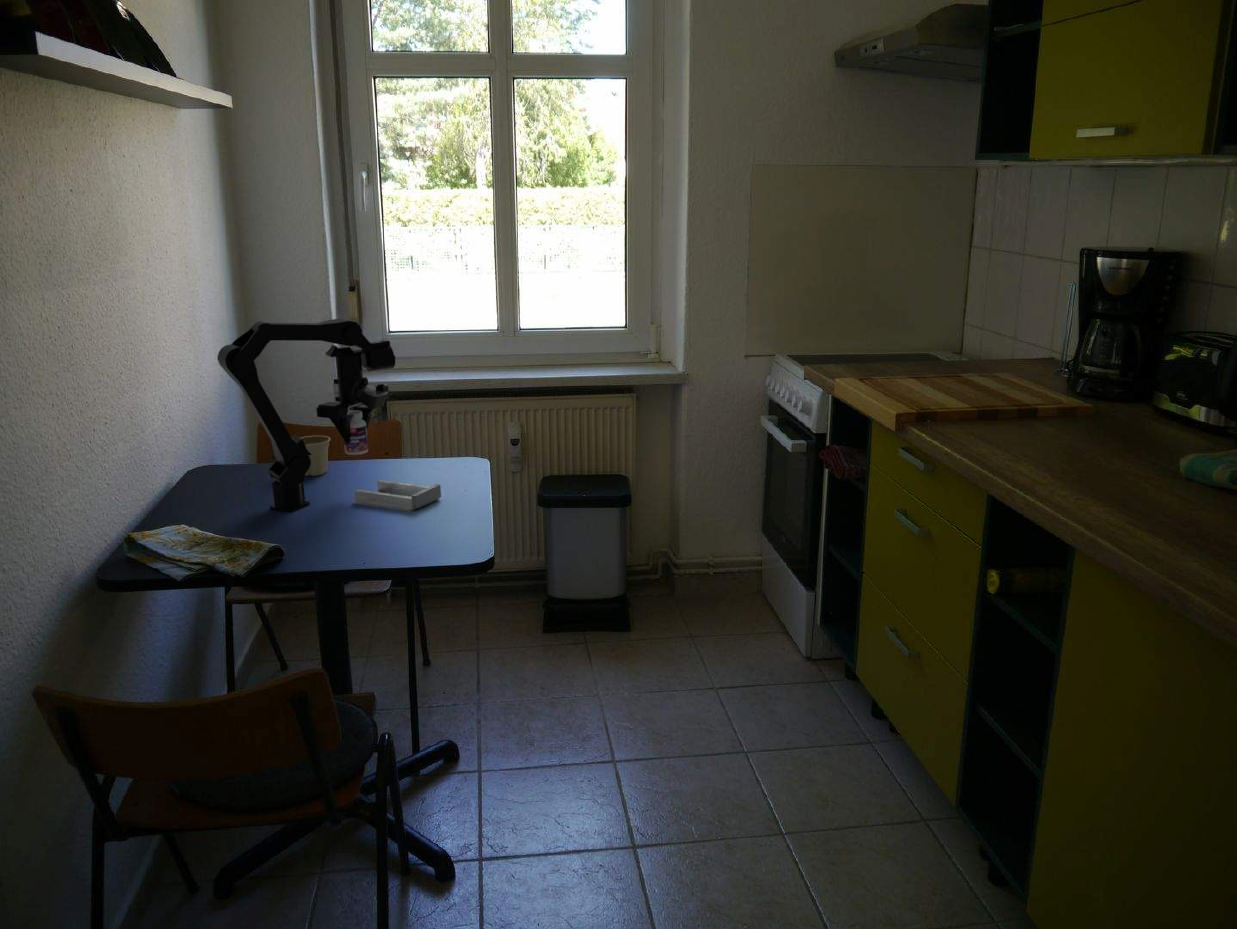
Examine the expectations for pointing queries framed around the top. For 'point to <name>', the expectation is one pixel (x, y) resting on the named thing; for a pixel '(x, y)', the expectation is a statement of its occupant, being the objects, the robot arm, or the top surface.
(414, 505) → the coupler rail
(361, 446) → the pill bottle
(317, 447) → the flower pot
